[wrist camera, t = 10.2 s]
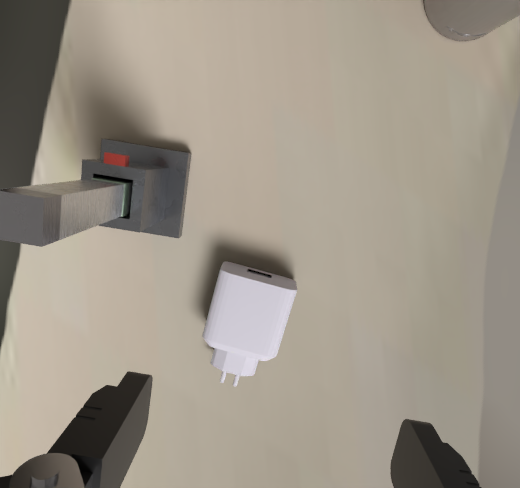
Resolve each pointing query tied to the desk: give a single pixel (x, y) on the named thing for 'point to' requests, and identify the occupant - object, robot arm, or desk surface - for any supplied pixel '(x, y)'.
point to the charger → (247, 318)
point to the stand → (145, 185)
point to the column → (61, 208)
